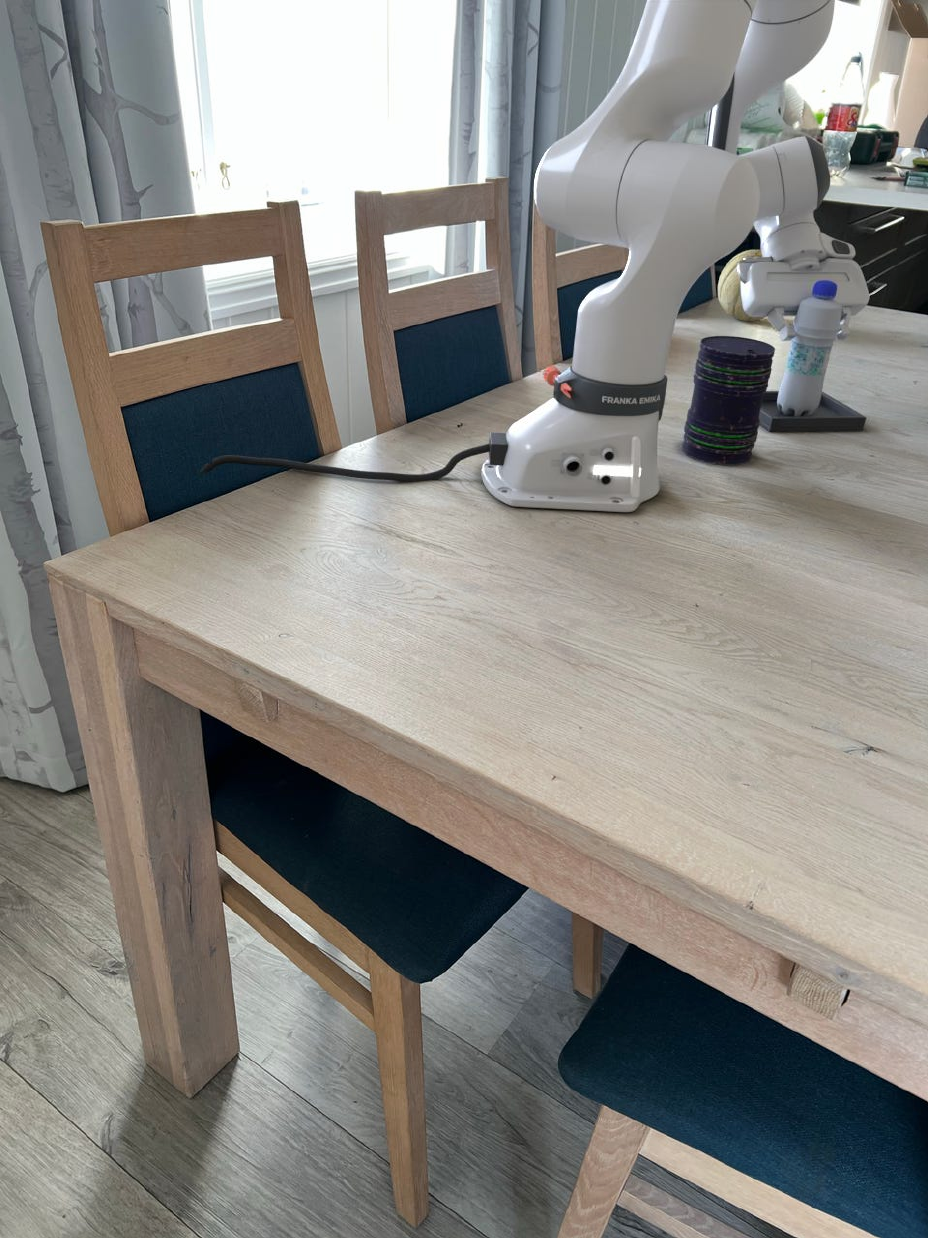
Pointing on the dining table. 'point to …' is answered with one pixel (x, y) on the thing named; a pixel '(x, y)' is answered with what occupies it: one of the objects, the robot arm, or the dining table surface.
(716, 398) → the navy striped cylinder
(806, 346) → the bottle
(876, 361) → the dining table surface
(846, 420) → the tray
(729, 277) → the cantaloupe
